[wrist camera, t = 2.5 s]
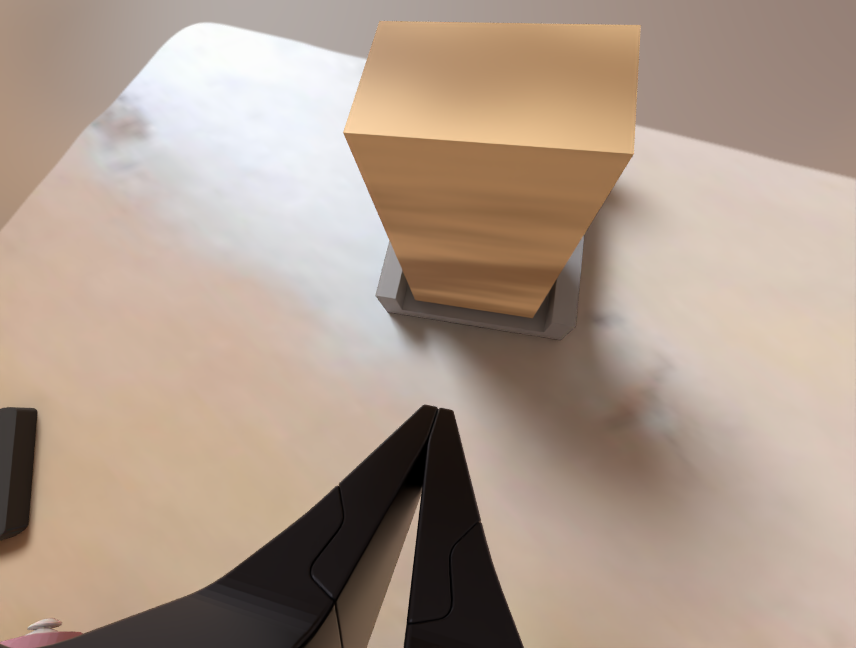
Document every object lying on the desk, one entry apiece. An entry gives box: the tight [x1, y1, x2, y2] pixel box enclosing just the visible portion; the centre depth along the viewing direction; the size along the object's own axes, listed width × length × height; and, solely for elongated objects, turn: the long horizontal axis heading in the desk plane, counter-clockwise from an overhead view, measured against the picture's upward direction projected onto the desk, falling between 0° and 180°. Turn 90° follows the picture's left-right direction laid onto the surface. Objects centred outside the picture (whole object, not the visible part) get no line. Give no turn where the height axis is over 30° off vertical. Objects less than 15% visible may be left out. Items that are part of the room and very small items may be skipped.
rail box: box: [375, 235, 584, 340], centre depth 20 cm, size 14×11×6 cm
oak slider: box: [343, 21, 640, 318], centre depth 15 cm, size 4×7×12 cm, turn 79°
